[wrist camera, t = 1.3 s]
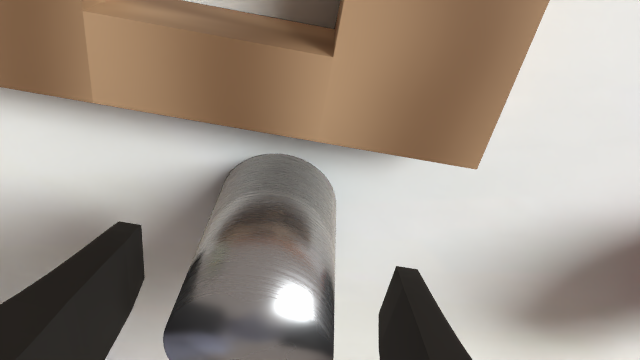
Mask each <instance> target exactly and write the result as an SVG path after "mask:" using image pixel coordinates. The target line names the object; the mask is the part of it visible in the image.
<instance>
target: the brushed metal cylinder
mask: <svg viewBox="0 0 640 360" xmlns="http://www.w3.org/2000/svg"><path fill="white" fill-rule="evenodd" d="M335 235H336V198H335V193H334V190H333V188H332V186H331V184H330V182H329V181H328V179H327V178H326V177H325V175H324V174H323V173H322V172H321V171H320V170H318V169H317V168H316V167H315V166H313V165H312V164H310V163H308V162H306V161H304V160H302V159H300V158H297V157H294V156H290V155H285V154H264V155H259V156H255V157H252V158H250V159H247V160H246V161H244V162H242V163H240V164H239V165H238V166H236V167H235V168H234V169H233V170H232V171H231V172H230V174H229V175H228V177H227V178H226V180H225V182H224V185H223V187H222V190H221V192H220V194H219V197H218V199H217V202H216V204H215V207H214V209H213V212H212V214H211V217H210V219H209V222H208V224H207V226H206V229H205V231H204V234H203V236H202V239H201V241H200V244H199V246H198V249H197V251H196V253H195V256H194V258H193V261H192V263H191V266H190V268H189V271H188V273H187V276H186V278H185V281H184V283H183V285H182V288H181V290H180V293H179V295H178V298H177V300H176V303H175V305H174V308H173V310H172V312H171V315H170V317H169V320H168V322H167V325H166V328H165V331H164V337H163V343H164V349H165V352H166V355H167V356H168V358H169V360H333V354H334V294H335Z"/></svg>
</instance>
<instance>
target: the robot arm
mask: <svg viewBox="0 0 640 360" xmlns="http://www.w3.org/2000/svg"><path fill="white" fill-rule="evenodd" d="M144 278H145V277H144V261H143V245H142V229H141V225H138V224H132V223H125V222H117V223H116V224H115V225H113V226H112V227H111V228H109V229H108V230H106V231H105V232H104V233H103V234H101V235H100V236H99V237H97V238H96V239H95V240H93V241H92V242H91V243H89V244H88V245H87V246H85V247H84V248H83V249H81V250H80V251H79V252H78V253H76V254H75V255H73V256H72V257H71V258H69V259H68V260H66V261H65V262H64V263H62V264H61V265H60V266H58V267H57V268H55V269H54V270H53V271H51V272H50V273H48V274H47V275H45V276H44V277H42V278H41V279H39V280H38V281H36V282H35V283H33V284H32V285H30V286H29V287H27V288H26V289H24V290H23V291H21V292H20V293H18V294H17V295H15V296H13V297H12V298H10V299H8V300H7V301H5V302H4V303H2V304H0V360H105V358H106V356H107V355H108V353H109V351H110V349H111V347H112V345H113V344H114V342H115V340H116V338H117V336H118V335H119V333H120V331H121V329H122V327H123V325H124V324H125V322H126V320H127V318H128V316H129V314H130V312H131V310H132V308H133V306H134V303H135V301H136V298H137V296H138V293H139V291H140V288H141V286H142V283H143V280H144ZM379 355H380V360H472V358H471V357H470V356H469V354H468V353H467V351H466V350H465V348H464V347H463V345H462V344H461V342H460V341H459V339H458V338H457V336H456V334H455V333H454V331H453V330H452V328H451V326H450V325H449V323H448V322H447V320H446V318H445V317H444V315H443V313H442V312H441V310H440V308H439V307H438V305H437V303H436V301H435V300H434V298H433V296H432V294H431V293H430V291H429V289H428V287H427V285H426V284H425V282H424V280H423V278H422V276H421V275H420V273H419V271H418V270H417V269H411V268H405V267H399V266H396V268H395V271H394V274H393V277H392V279H391V282H390V285H389V287H388V290H387V293H386V296H385V298H384V301H383V304H382V306H381V309H380V312H379Z"/></svg>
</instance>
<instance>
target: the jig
mask: <svg viewBox="0 0 640 360" xmlns="http://www.w3.org/2000/svg"><path fill="white" fill-rule="evenodd" d="M549 1H550V0H340V4H339V9H338V15H337V20H336V25H335V29H331V28H325V27H320V26H315V25H310V24H304V23H299V22H294V21H288V20H283V19H278V18H272V17H267V16H262V15H256V14H251V13H246V12H241V11H235V10H230V9H225V8H219V7H214V6H209V5H203V4H198V3H193V2H188V1H182V0H0V87H3V88H9V89H15V90H21V91H27V92H32V93H38V94H44V95H50V96H55V97H61V98H67V99H73V100H79V101H84V102H90V103H96V104H102V105H107V106H113V107H119V108H125V109H131V110H136V111H142V112H148V113H154V114H159V115H165V116H171V117H177V118H183V119H188V120H194V121H200V122H206V123H211V124H217V125H223V126H229V127H235V128H240V129H246V130H252V131H258V132H263V133H269V134H275V135H281V136H286V137H292V138H298V139H304V140H310V141H315V142H321V143H327V144H333V145H338V146H344V147H350V148H356V149H362V150H367V151H373V152H379V153H385V154H390V155H396V156H402V157H408V158H414V159H419V160H425V161H431V162H437V163H442V164H448V165H454V166H460V167H466V168H471V169H477V168H478V165H479V163H480V161H481V158H482V156H483V154H484V151H485V149H486V147H487V144H488V142H489V140H490V137H491V135H492V133H493V131H494V128H495V126H496V124H497V121H498V119H499V117H500V114H501V112H502V110H503V107H504V105H505V103H506V100H507V98H508V96H509V93H510V91H511V89H512V86H513V84H514V82H515V79H516V77H517V75H518V72H519V70H520V68H521V66H522V63H523V61H524V59H525V56H526V54H527V52H528V49H529V47H530V45H531V42H532V40H533V38H534V35H535V33H536V31H537V28H538V26H539V24H540V21H541V19H542V17H543V14H544V12H545V10H546V8H547V5H548V3H549Z"/></svg>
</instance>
